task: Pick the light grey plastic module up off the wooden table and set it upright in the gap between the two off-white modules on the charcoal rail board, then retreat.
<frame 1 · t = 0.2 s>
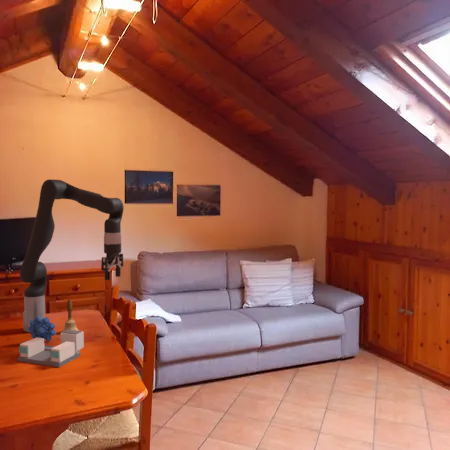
hand: (112, 278, 198), 29 cm above the table, fingers open, 8 cm apart
hand bell: (70, 332, 212), on the table
grapes: (41, 343, 197), on the table
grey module: (72, 348, 190), on the table
rail board: (49, 358, 178), on the table
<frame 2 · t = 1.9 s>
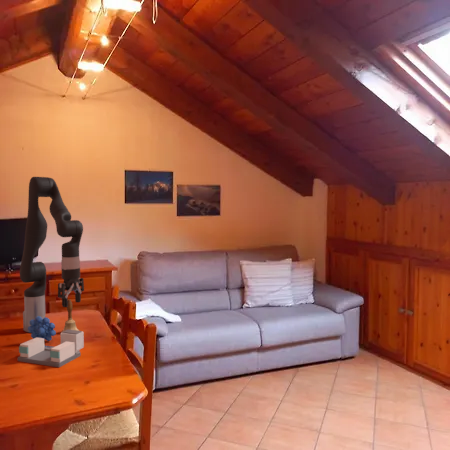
hand: (71, 304, 189), 19 cm above the table, fingers open, 8 cm apart
nothing on the table moved.
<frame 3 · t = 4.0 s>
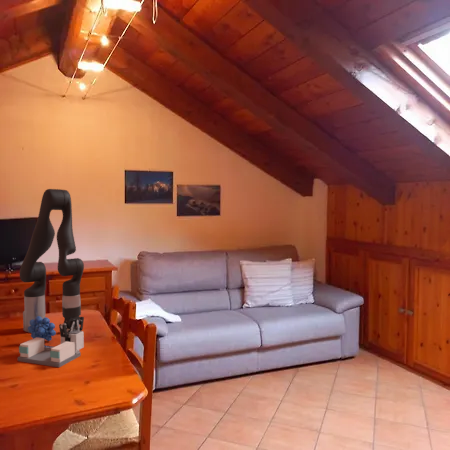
hand: (72, 343, 190), 2 cm above the table, fingers closed on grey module, 5 cm apart
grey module: (72, 348, 190), on the table, touching gripper
everything else where it was.
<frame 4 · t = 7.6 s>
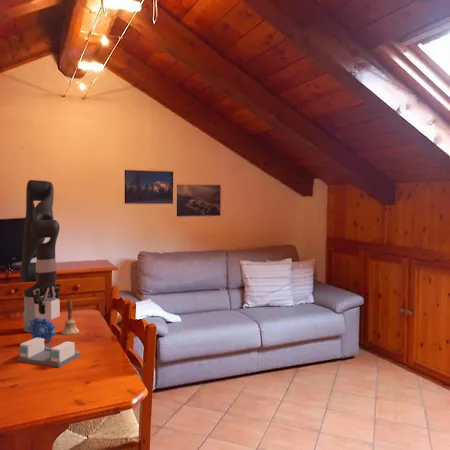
hand: (47, 311, 176), 19 cm above the table, fingers closed on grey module, 5 cm apart
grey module: (47, 316, 176), point 17 cm above the table, touching gripper
everything else where it was.
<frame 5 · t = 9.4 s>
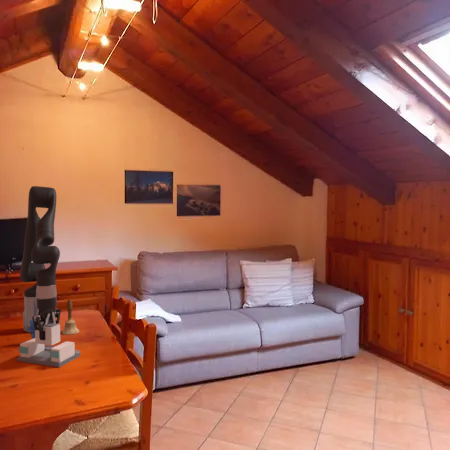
hand: (47, 337, 177), 9 cm above the table, fingers closed on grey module, 5 cm apart
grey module: (47, 342, 177), point 7 cm above the table, touching gripper
everything else where it was.
when the fingers open (5 cm above the table, at t = 11.1 s): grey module drops 1 cm, resting on rail board.
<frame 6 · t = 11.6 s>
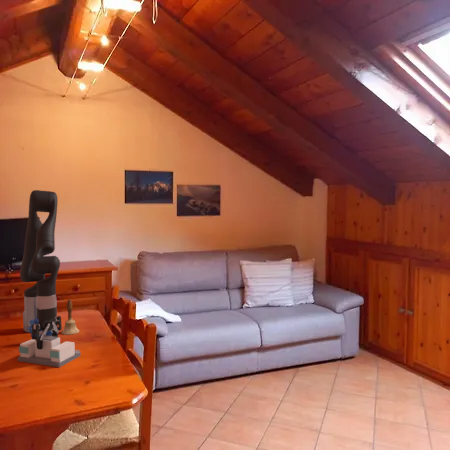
hand: (47, 345, 177), 6 cm above the table, fingers open, 8 cm apart
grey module: (47, 355, 177), point 1 cm above the table, touching rail board
everything else where it was.
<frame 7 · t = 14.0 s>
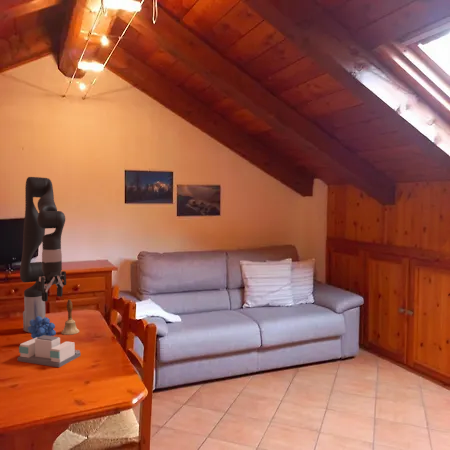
hand: (52, 298, 181), 23 cm above the table, fingers open, 8 cm apart
nothing on the table moved.
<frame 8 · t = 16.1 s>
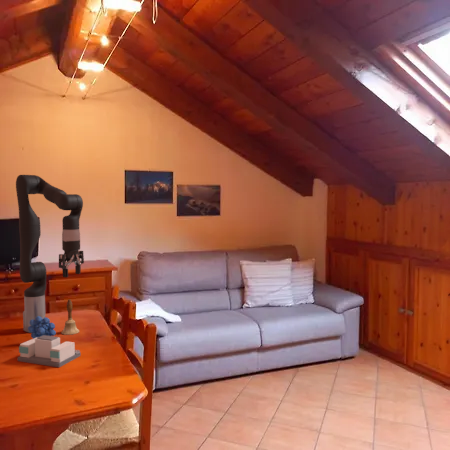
hand: (71, 275, 196), 30 cm above the table, fingers open, 8 cm apart
nothing on the table moved.
at the end: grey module 0.1 cm from the target spot on the rail board, point 1.5 cm above the rail board's base; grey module tilted 0°; the gripper is holding nothing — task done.
